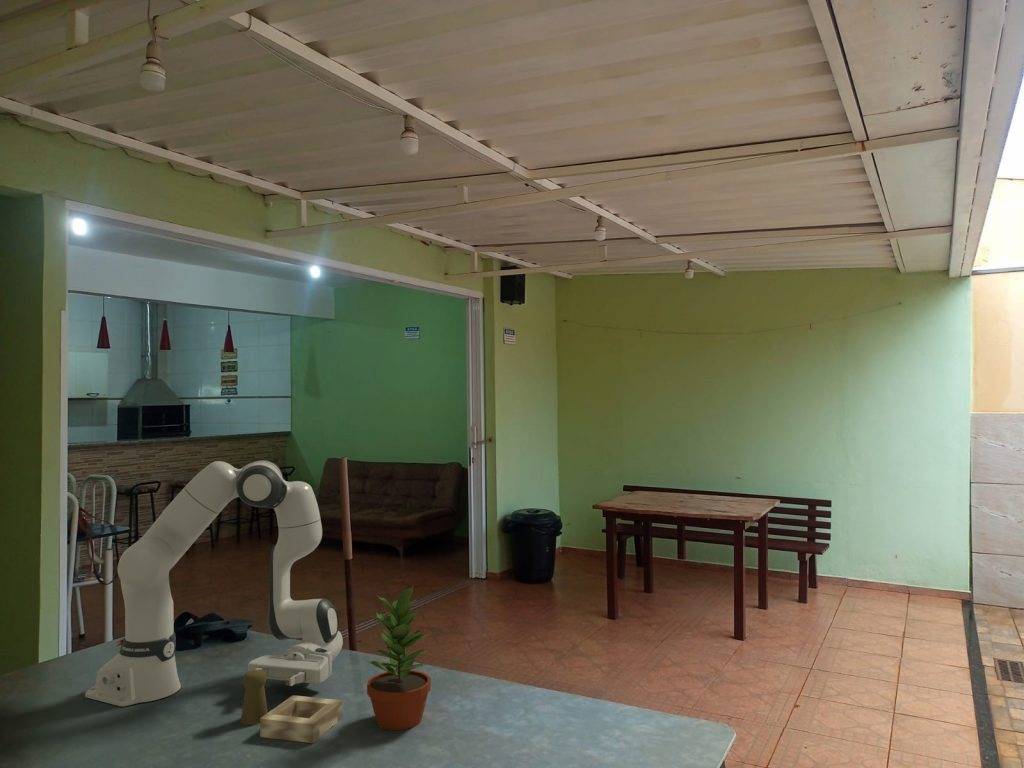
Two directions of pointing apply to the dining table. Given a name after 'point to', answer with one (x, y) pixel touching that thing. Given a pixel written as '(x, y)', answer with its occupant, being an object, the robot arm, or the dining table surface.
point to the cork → (254, 697)
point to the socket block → (301, 719)
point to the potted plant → (399, 670)
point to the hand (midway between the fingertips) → (270, 680)
